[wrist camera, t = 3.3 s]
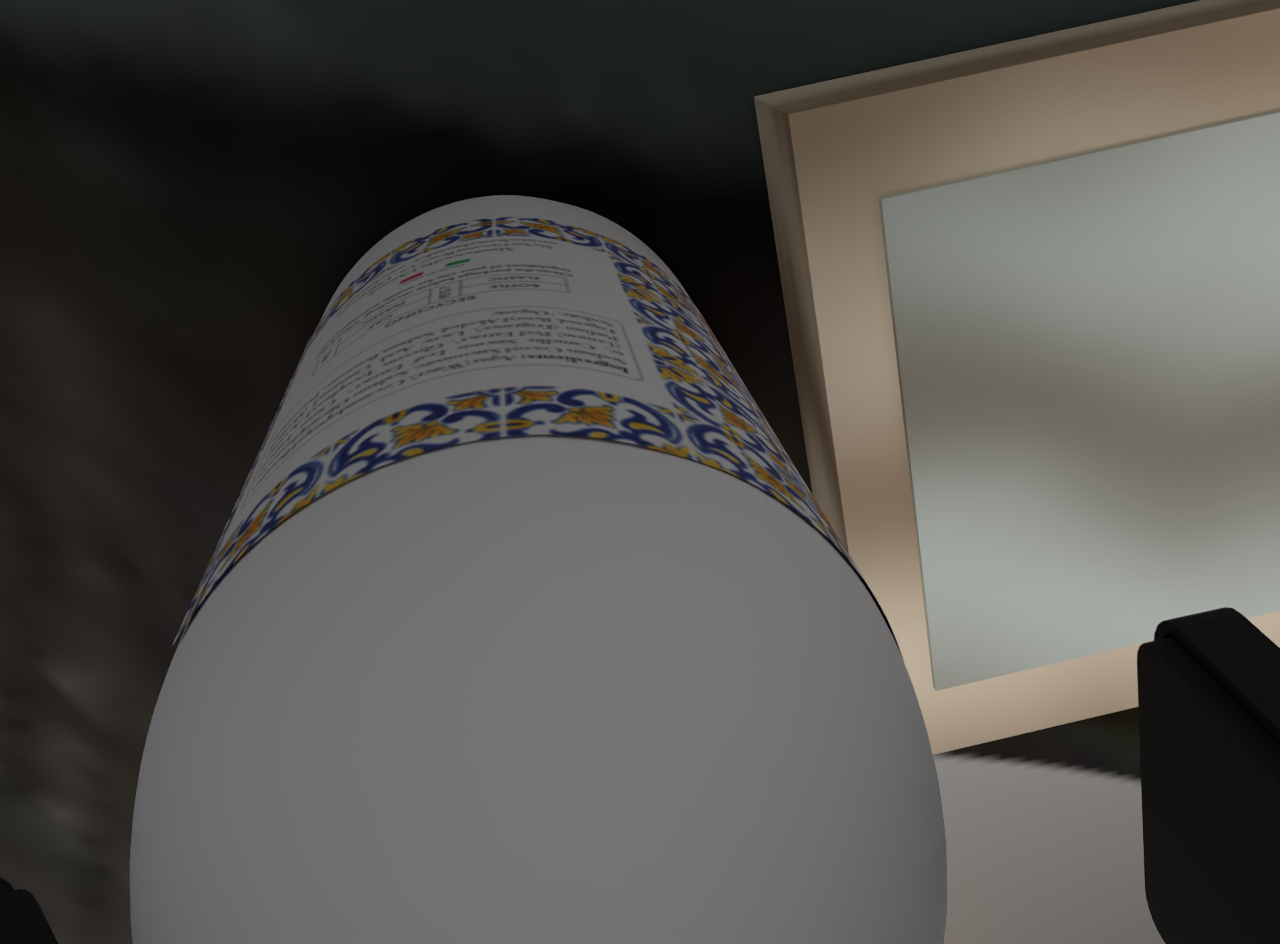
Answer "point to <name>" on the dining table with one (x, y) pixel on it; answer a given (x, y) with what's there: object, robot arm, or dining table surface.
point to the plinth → (1042, 348)
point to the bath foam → (531, 637)
